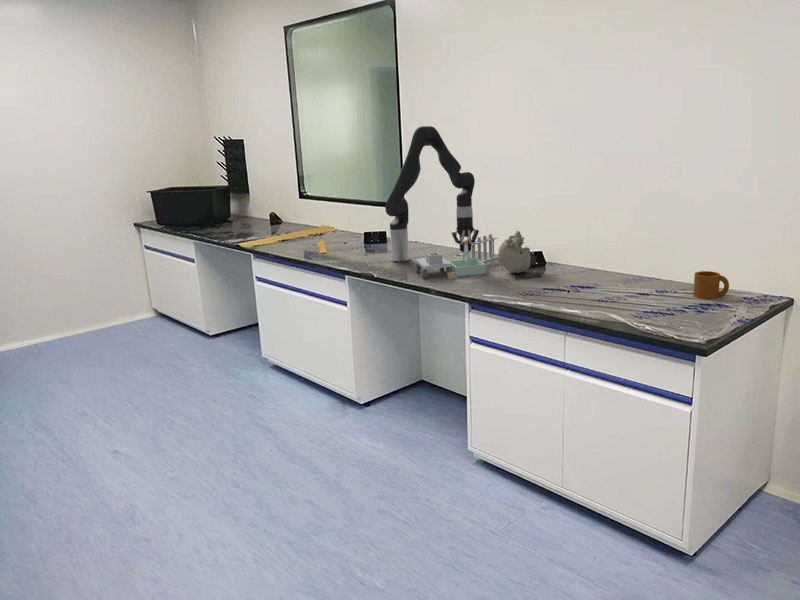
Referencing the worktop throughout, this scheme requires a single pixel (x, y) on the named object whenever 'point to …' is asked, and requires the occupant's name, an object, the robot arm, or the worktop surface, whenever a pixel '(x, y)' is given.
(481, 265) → the tray
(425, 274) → the grey stepped platform
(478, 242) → the test tube rack
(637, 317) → the worktop surface
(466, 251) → the stop pin
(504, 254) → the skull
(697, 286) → the mug
